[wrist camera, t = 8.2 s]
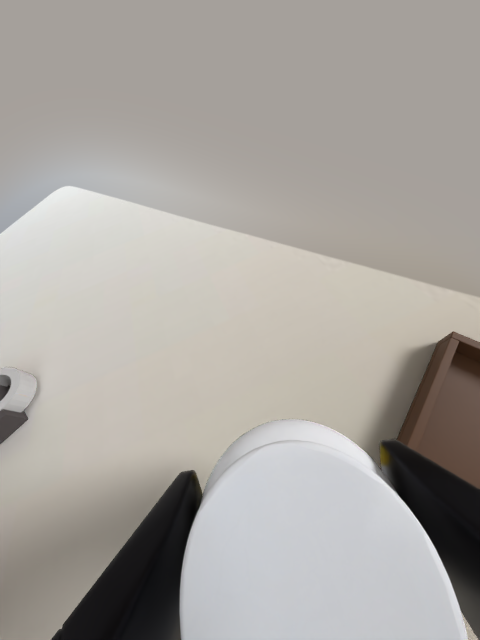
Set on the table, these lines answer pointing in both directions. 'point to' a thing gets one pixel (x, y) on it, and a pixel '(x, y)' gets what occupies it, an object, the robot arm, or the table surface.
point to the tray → (448, 409)
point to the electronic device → (14, 399)
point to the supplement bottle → (310, 547)
